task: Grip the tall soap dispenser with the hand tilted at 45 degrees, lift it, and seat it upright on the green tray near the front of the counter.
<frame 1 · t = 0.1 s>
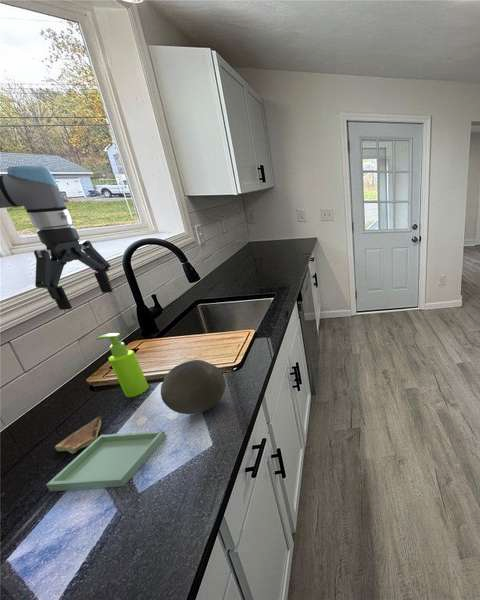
hand: (88, 300, 93), 29 cm above the counter, tool pointing down, fingers open, 13 cm apart
shard: (80, 439, 80), on the counter
dark grey rounded lump: (203, 410, 88), on the counter
green tray: (113, 461, 73), on the counter
soap dispenser: (135, 391, 97), on the counter
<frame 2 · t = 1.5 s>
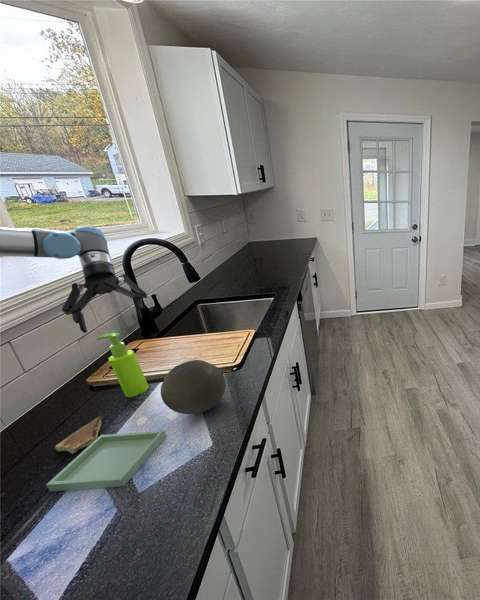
hand: (113, 323, 98), 20 cm above the counter, tool tilted 45°, fingers open, 13 cm apart
nothing on the counter moved.
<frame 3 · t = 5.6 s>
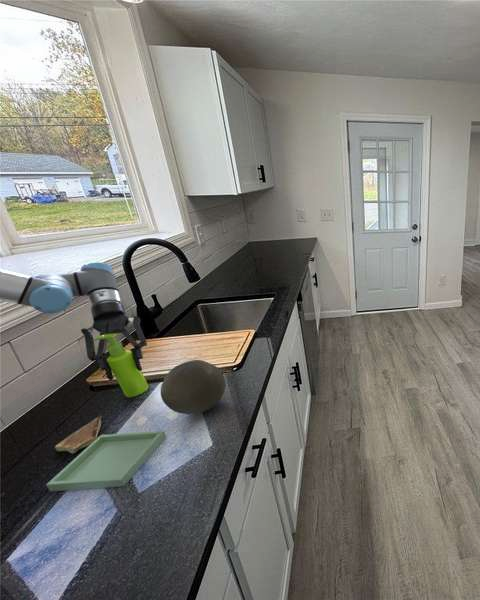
hand: (125, 373, 92), 8 cm above the counter, tool tilted 45°, fingers closed on soap dispenser, 6 cm apart
soap dispenser: (135, 391, 97), on the counter, touching gripper
everything else where it was.
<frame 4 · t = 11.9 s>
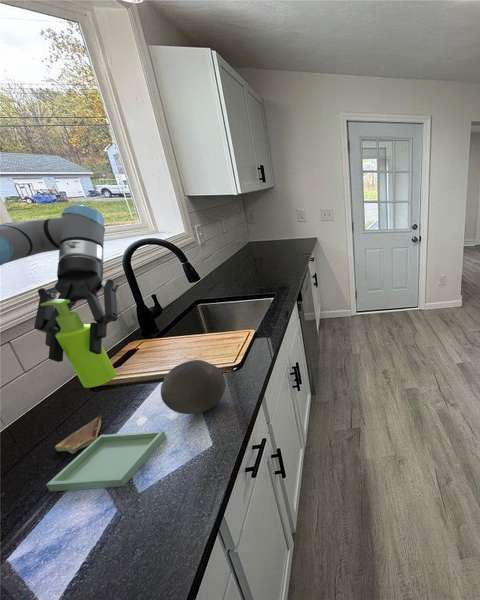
hand: (75, 355, 66), 26 cm above the counter, tool tilted 45°, fingers closed on soap dispenser, 6 cm apart
soap dispenser: (99, 380, 73), point 18 cm above the counter, touching gripper
everything else where it was.
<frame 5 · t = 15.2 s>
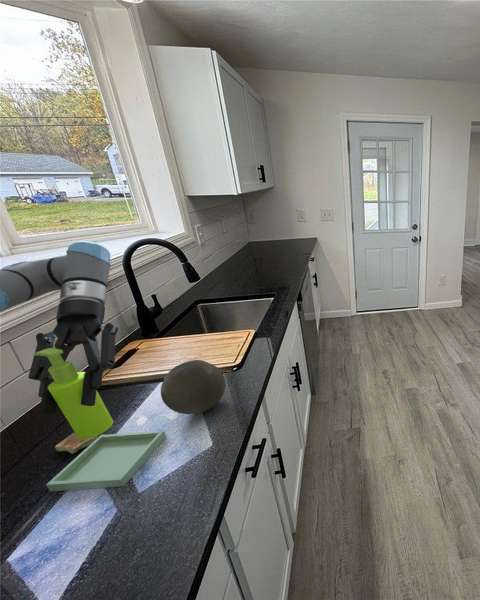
hand: (67, 408, 63), 18 cm above the counter, tool tilted 45°, fingers closed on soap dispenser, 6 cm apart
soap dispenser: (95, 429, 69), point 10 cm above the counter, touching gripper
everything else where it was.
when the fingers open (9 cm above the counter, at t = 18.1 s): soap dispenser stays where it is, resting on green tray.
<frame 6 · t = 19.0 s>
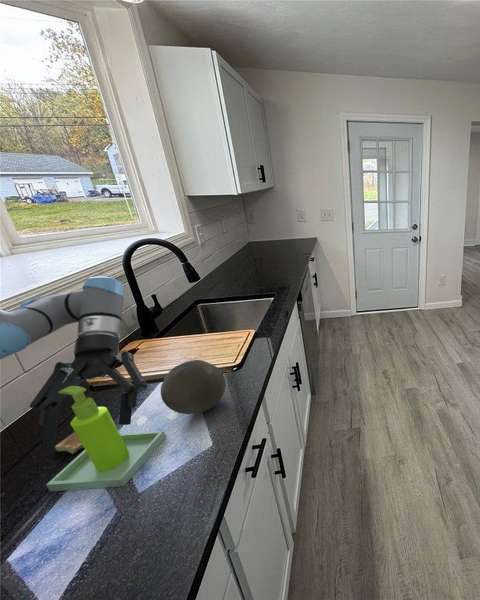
hand: (87, 432, 66), 11 cm above the counter, tool tilted 45°, fingers open, 13 cm apart
soap dispenser: (111, 460, 72), resting on green tray
everything else where it was.
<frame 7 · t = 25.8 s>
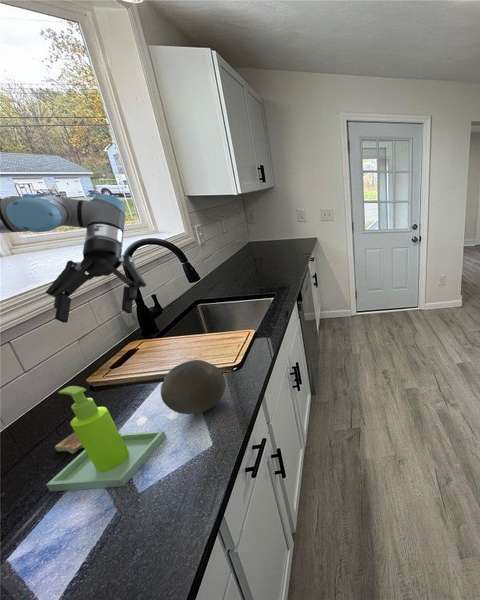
hand: (94, 316, 78), 30 cm above the counter, tool tilted 45°, fingers open, 13 cm apart
nothing on the counter moved.
at the end: soap dispenser inside the target area in the green tray (0.3 cm from its centre), point 0.3 cm above the green tray's base; soap dispenser tilted 0°; the gripper is holding nothing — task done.
